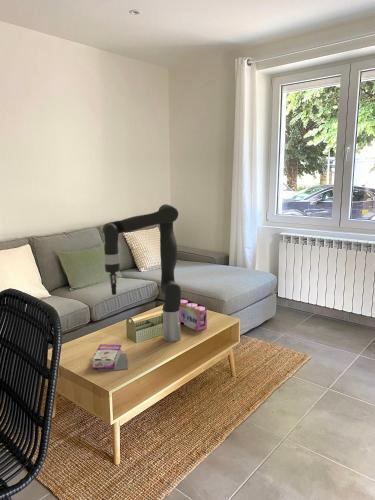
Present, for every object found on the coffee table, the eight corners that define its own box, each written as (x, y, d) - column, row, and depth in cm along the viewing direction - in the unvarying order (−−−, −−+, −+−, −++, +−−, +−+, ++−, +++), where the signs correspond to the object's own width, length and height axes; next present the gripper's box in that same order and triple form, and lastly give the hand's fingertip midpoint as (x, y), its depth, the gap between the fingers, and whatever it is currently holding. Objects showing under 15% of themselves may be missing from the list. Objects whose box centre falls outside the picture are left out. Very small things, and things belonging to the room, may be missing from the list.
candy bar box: (100, 353, 201) (91, 368, 185) (100, 344, 200) (91, 358, 184) (122, 353, 201) (114, 369, 185) (121, 344, 200) (114, 359, 184)
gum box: (208, 328, 232) (209, 307, 230) (199, 332, 227) (199, 310, 225) (183, 317, 250) (183, 297, 248) (173, 320, 245) (173, 300, 243)
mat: (126, 353, 201) (126, 353, 201) (127, 369, 186) (127, 368, 185) (98, 356, 198) (98, 355, 198) (97, 372, 183) (97, 371, 183)
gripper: (120, 264, 194) (122, 297, 197) (118, 258, 206) (120, 289, 210) (105, 265, 192) (107, 299, 196) (104, 259, 204) (106, 291, 208)
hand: (114, 294), depth 203 cm, fingers closed
